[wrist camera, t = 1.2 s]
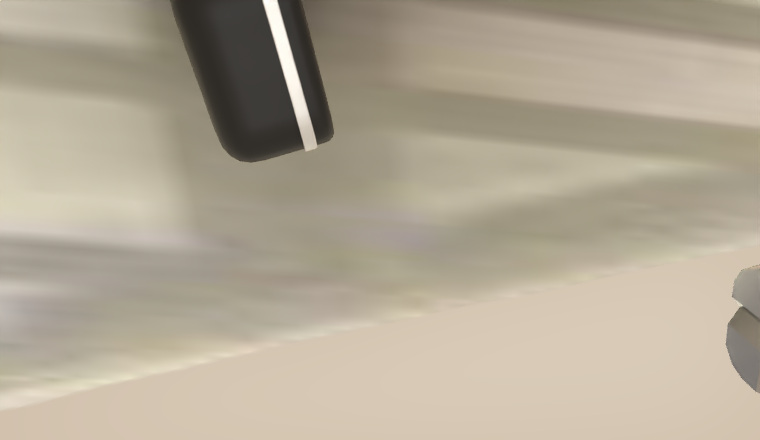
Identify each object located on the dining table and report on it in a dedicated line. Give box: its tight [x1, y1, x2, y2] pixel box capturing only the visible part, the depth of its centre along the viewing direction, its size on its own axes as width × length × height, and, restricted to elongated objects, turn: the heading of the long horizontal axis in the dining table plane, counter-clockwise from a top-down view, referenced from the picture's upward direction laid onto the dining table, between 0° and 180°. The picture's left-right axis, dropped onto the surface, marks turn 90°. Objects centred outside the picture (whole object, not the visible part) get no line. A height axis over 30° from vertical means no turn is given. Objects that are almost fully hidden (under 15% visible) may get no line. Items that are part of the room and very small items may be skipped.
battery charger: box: [170, 0, 334, 162], centre depth 26 cm, size 7×4×11 cm, turn 12°
